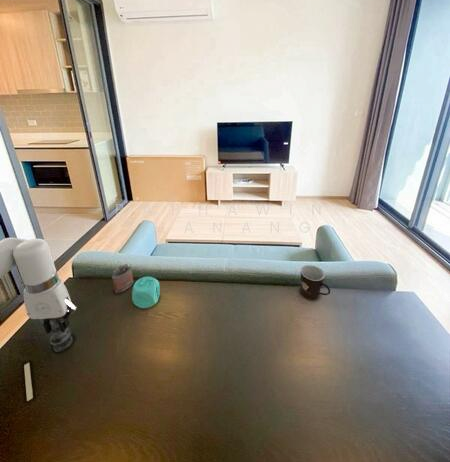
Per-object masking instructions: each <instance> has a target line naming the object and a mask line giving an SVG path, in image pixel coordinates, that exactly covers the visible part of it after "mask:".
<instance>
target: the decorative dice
mask: <svg viewBox="0 0 450 462" xmlns="http://www.w3.org/2000/svg"><path fill="white" fill-rule="evenodd" d="M131 291H132V292H131V300H132V303H133V304H134V305H135V306H136V307H138V308H140V309H148V308H151V307H153V306H154V305H156V304H157V303H158V301H159V298H160V291H161V285H160V281H159V280H158V279H156V278H155V277H154V276H143V277H140V278H139V279H137V280H136V281H135V282H134V283H133V287H132V290H131Z"/></svg>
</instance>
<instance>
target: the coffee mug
mask: <svg viewBox="0 0 450 462" xmlns="http://www.w3.org/2000/svg"><path fill="white" fill-rule="evenodd" d="M325 276H326V274H325V271H324V270H323V269H322V268H320V267H318V266H316V265H312V264H307V265H304V266H302V267H301V268H300V293H301V296H302V297H303V298H305V299H307V300H316V299H318V298H319V295H322V296H328V295H330V294H331V288H330V286H329V285H328V284H326V283H324V280H325ZM322 286H324V287H326V289H327V291H328V292H327V293H324V292H321V290H322Z"/></svg>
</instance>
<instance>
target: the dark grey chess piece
mask: <svg viewBox="0 0 450 462" xmlns="http://www.w3.org/2000/svg"><path fill="white" fill-rule="evenodd" d="M59 322H60V320H59V318H51V319H50V325H51V333H52V334H51V335H50V337H49V339H48V340H49V342H48V343H50V345H52V346H53V347H52V348H53V351H54V352H56V353H60V352H63V351H65V350H67V349H68V348H70V346H72V344H73V342H74V338H73V336H72V329H71V328H70V327H69V326H68V327H67V328H66V330H65V332H61V329H60V326H59Z"/></svg>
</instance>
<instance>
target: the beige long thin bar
mask: <svg viewBox="0 0 450 462" xmlns="http://www.w3.org/2000/svg"><path fill="white" fill-rule="evenodd" d="M23 368H24V369H23V370H24V381H25V393H26V402H29V401H31V400H33V398H34V394H33V386H32V376H31V366H30V362H27V363H26V364H24V365H23Z"/></svg>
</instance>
